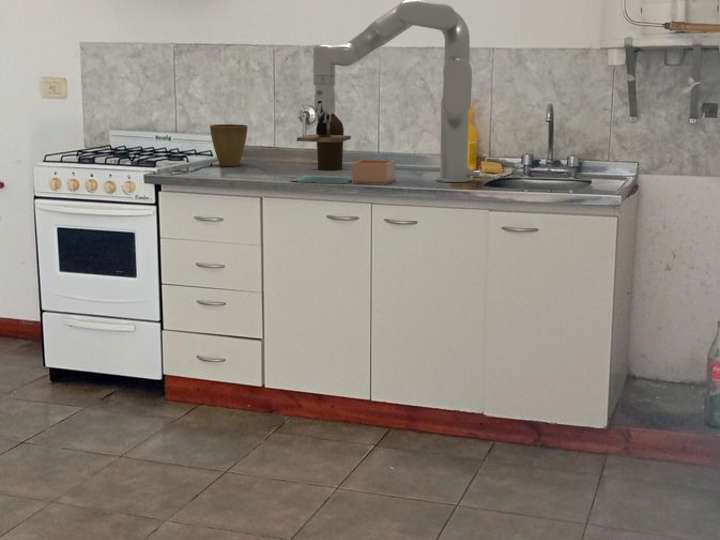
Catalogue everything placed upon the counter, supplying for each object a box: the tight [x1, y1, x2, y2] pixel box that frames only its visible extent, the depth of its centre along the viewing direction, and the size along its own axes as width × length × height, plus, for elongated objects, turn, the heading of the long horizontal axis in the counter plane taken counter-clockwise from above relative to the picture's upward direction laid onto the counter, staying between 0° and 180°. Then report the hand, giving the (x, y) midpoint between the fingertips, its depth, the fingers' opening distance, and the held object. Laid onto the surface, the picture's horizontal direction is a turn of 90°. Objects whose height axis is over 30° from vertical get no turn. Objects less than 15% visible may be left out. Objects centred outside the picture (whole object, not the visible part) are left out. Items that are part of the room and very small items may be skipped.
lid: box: [296, 119, 352, 143], centre depth 367 cm, size 15×15×7 cm
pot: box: [352, 159, 396, 185], centre depth 365 cm, size 12×12×7 cm
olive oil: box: [315, 113, 345, 171], centre depth 404 cm, size 11×11×25 cm
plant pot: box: [209, 123, 249, 167], centre depth 417 cm, size 15×15×16 cm
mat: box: [290, 175, 353, 184], centre depth 371 cm, size 20×16×1 cm
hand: (324, 133), depth 367 cm, fingers closed on lid, 4 cm apart
